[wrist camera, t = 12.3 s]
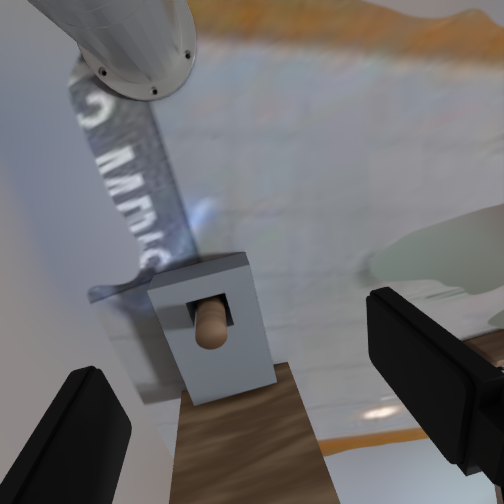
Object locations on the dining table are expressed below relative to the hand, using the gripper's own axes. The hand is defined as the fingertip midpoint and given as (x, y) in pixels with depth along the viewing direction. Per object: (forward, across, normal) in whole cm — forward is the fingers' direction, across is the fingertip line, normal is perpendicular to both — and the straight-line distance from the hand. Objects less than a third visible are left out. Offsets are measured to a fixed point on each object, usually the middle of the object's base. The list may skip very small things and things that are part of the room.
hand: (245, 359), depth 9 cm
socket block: (+30, +5, +19) cm, 36 cm away
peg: (+30, +5, +14) cm, 34 cm away
